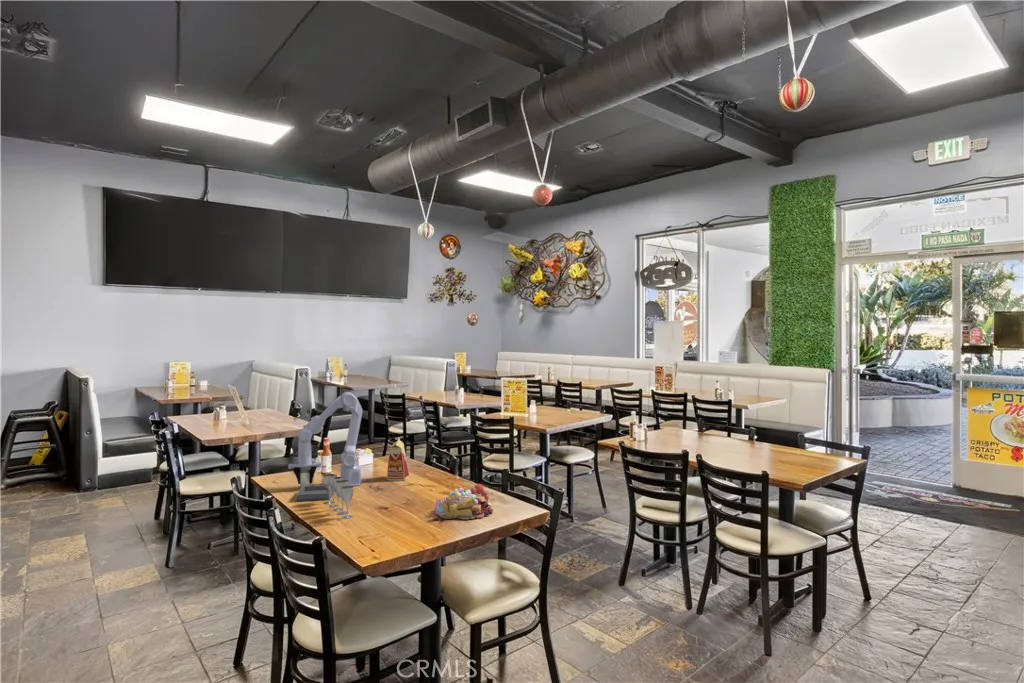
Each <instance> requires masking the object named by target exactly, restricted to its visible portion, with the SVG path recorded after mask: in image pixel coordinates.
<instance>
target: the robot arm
mask: <svg viewBox="0 0 1024 683" xmlns="http://www.w3.org/2000/svg"><path fill="white" fill-rule="evenodd" d="M344 406H345V407H346V408H348V409H349V411H350V412H351V416H350V422H349V426H348V430H347V431H348V432H347V436H346V442H345V445H344V449H343V451H342V453H341V454H340V459H341V462H342V463H341V464H340V477H342V480H348V481H349V486H353V487H358V486H361V483H362V466H361V464H360V465H357V463H356V462H357V457H356V453H357V452H356V449H357V448H356V447H357V442H358V438H359V437H358V436H359V432H360V427H361V422H362V416H363V408H362V405H361V404H360V401H359V399H358V398H357V397H356V396H355V395H354V394H353V392H351V391H344V392H343V393H342V394H341V395H339V396H338V397H336V399H334V400H333V401H332V402H331V403H330V405H328V407H326V409H324V411H323V412H322V413H321V414H320V415H315V416H312V417H311V418H310V421H309V422H308V423H307V424H304V425H303V426H302V427H303V428H300V429H299V431H298V433H297V437H298V445H297V446H298V448H297V449H298V453H297V454H298V462H295V463H289V464H288V465H287V469H288V470H291V469H293V470H292V471H293V474H294V475H295V477H296V480H297V483H298V485H300V470H301V469H310V484H313V481H314V477H315V473H316V471H317V468H319V469H320V468H322V466H323V464H322V463H323V462H317V461H316V462H315V461H312V459H313V458H312V457H313V456H312V455H313V454H312V453H313V452H312V443H311V442H312V437H313V435H315V434H316V433H317V432H318V431H319V430H320V429H322V427H323V426H324V425H325V422H326V421H325V420H327V419H328V418H329V417H330V416H331V415H333V413H334V412H336V410H338V409H343V408H344Z"/></svg>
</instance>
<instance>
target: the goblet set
mask: <svg viewBox="0 0 1024 683" xmlns="http://www.w3.org/2000/svg"><path fill="white" fill-rule="evenodd" d="M321 482H322V484H321V485H324V486H325V487H326V488H327V489H328V492H329V500H327V501H325V502H323V505H326V506H328V508H331V509H332V508H333V509H332V511H333V512H336V515H337V516H341V519H343V520H350V519H353V518H354V516H353V515H352V514H351V515H350V514H349V506H350V505H349V504H350V502H351V500H352V498H353V496H354V486H349V481H348V480H342V477H341V476H338V475H337V474H335V473H326V474H324V475H323V476H322V479H321ZM331 490H332V492H333V495H332V500H331V499H330V491H331ZM335 494H336V498H337V502H339V500H341V507H339V504H335V503H336V501H335ZM339 498H340V499H339ZM344 503H345V505H346V511H345V510H344Z"/></svg>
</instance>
